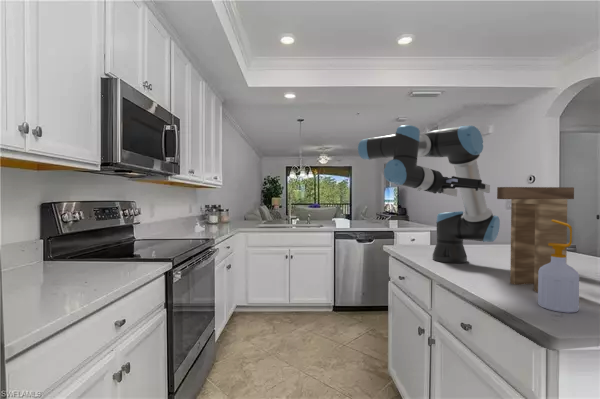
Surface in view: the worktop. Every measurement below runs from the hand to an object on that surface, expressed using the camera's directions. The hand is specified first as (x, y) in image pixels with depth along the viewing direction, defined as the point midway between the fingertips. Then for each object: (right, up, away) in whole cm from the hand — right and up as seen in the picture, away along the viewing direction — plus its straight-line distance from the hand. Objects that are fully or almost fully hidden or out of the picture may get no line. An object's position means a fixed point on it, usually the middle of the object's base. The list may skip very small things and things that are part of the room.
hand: (471, 191), depth 123 cm
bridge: (+19, -33, -7) cm, 38 cm away
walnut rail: (+18, -3, -7) cm, 20 cm away
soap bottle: (+10, -33, -27) cm, 44 cm away
